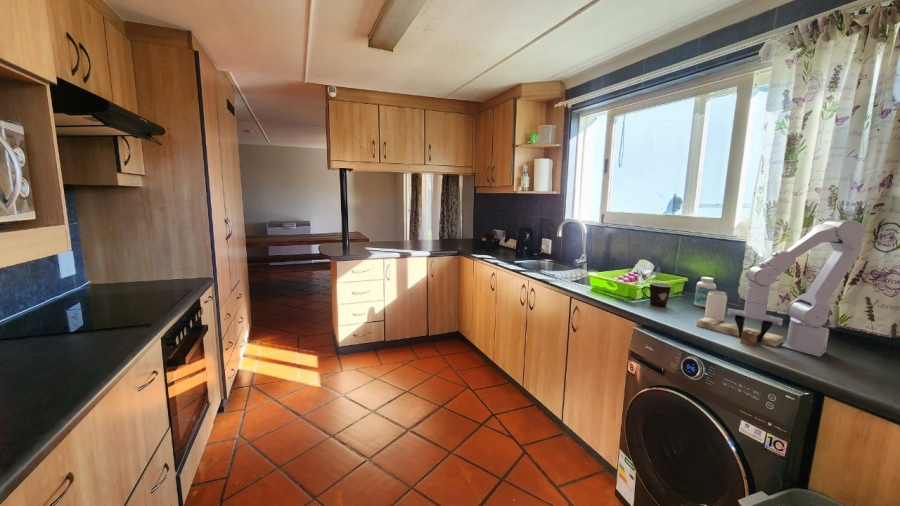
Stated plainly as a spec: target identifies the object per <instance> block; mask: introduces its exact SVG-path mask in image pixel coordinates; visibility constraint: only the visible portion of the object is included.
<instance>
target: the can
mask: <svg viewBox="0 0 900 506" xmlns="http://www.w3.org/2000/svg"><path fill="white" fill-rule="evenodd" d="M727 302H728V295H727V292H725V291H722V290H717V289H716V290H710V292H709V293H708V296H707V303H706V308H705V311H704V318H705V317H708V318H712V319H715V320H719V321H724V320H725V314H726V309H727Z"/></svg>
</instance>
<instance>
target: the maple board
mask: <svg viewBox="0 0 900 506" xmlns="http://www.w3.org/2000/svg"><path fill="white" fill-rule="evenodd" d="M696 326H698V327H701V328H706V329H708V330H711V331H716V332H718V333H723V334H727V335H730V336H734V337H737V338H739V330H738V326H737V324H735V323H731V322H727V321H719V320H715V319H712V318H708V317H705V316H704V317H702V318H700V319H698V320H696ZM746 329H748V330H753V331H756V332H760V333H761V330H759V329H755V328H750V327H747V326H743V331H744V330H746ZM783 342H784V336H783V335H778V334H774V333H771V332H768V331H767V332H766V333H765V335H764V337H763V338H762V342H761V343H760V342H759V344H763V345H766V346H771V347H773V346H774V348H776V347H777V346H779V345H780V344H781V345H782V343H783Z"/></svg>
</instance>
